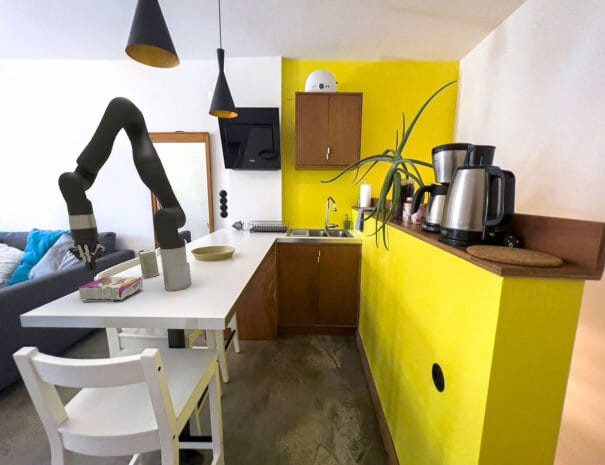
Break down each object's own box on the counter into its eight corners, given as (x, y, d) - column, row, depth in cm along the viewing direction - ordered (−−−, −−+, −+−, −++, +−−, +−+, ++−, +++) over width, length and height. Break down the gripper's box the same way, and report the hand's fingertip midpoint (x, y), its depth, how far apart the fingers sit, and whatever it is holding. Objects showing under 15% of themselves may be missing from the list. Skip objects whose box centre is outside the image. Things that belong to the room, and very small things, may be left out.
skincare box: (156, 273, 118) (153, 249, 116) (159, 275, 115) (156, 250, 113) (141, 276, 113) (138, 252, 111) (143, 279, 110) (140, 253, 108)
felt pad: (139, 287, 101) (138, 285, 101) (113, 302, 87) (113, 300, 87) (113, 287, 101) (112, 285, 101) (83, 302, 87) (83, 300, 87)
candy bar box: (104, 275, 98) (142, 276, 97) (106, 287, 99) (143, 288, 98) (77, 286, 87) (119, 287, 86) (79, 299, 88) (121, 300, 87)
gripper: (109, 224, 94) (116, 267, 97) (75, 225, 94) (83, 268, 96) (92, 227, 86) (100, 273, 89) (56, 228, 86) (65, 274, 89)
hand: (91, 270), depth 93 cm, fingers closed
